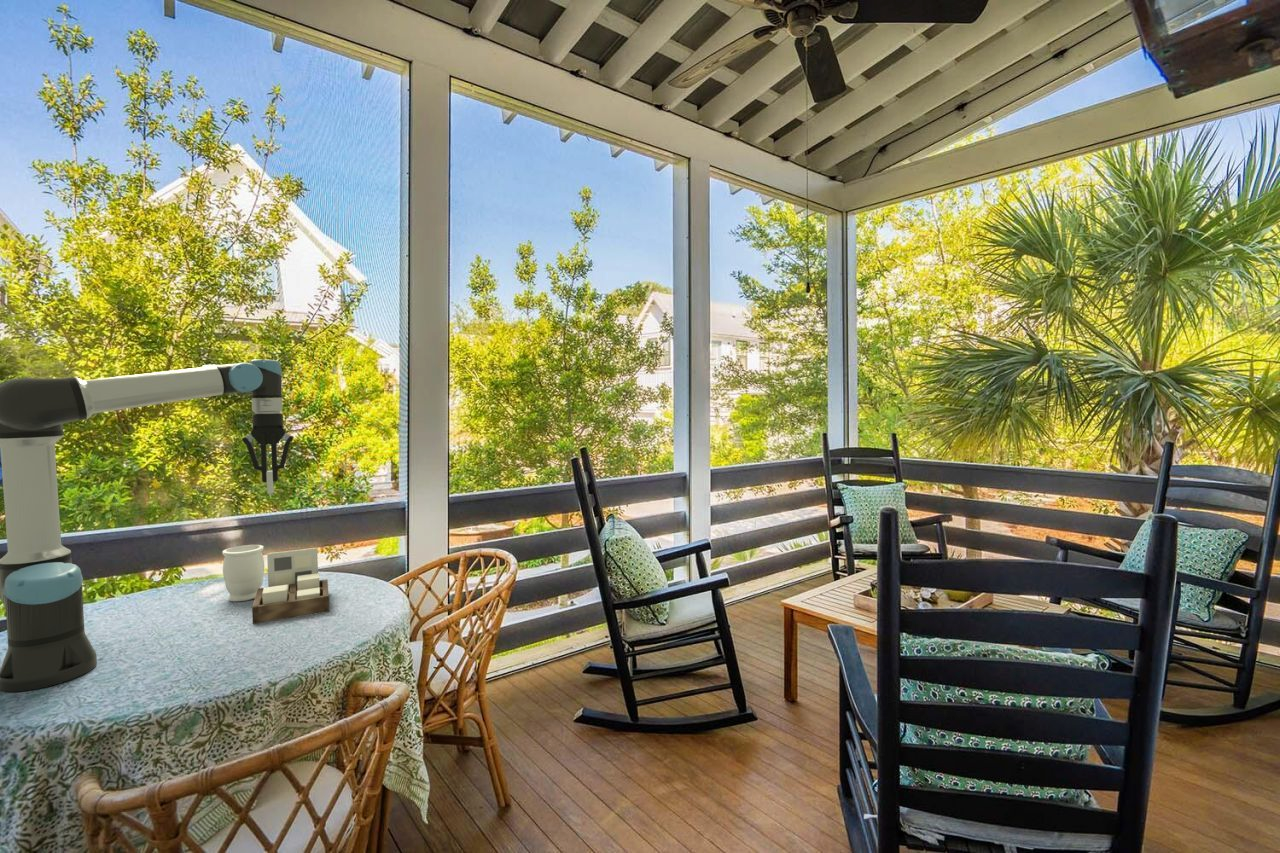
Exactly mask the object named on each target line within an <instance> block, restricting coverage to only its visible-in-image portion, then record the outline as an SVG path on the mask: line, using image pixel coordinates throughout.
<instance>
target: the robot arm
mask: <svg viewBox="0 0 1280 853" xmlns="http://www.w3.org/2000/svg"><path fill="white" fill-rule="evenodd" d="M282 378H283V375H282V367H281V362H280V361H279V360H275V359H261V358H260V359H256V358H255V359H251V360H250V362H245V361H244V362H237V363H228V364H203V365H202V366H200V367H195V368H194V367H193V368H184V369H183V368H182V369H175V370H166V371H157V372H151V373H141V374H140V373H139V374H132V375H130V374H129V375H120V376H114V377H113V376H110V377H103V378H95V379H84V380H82V379H81V378H78V377H77V376H71V377H70V376H69V377H58V378H57V377H56V378H41V377H40V378H39V377H38V378H37V377H20V378H19V377H18V378H11V379H9V380H4V381H2V382H1V383H0V462H1V474H2V475H1V477H2V485H3V487H2V488H3V503H4V504H3V505H4V515H5V516H4V518H5V530H6V531H5V532H6V545H7V552H6V553H5V555H3V557H1V558H0V601H1V603H2V605H3V606H4V609H5V617H6V632H7V651H6V653H5V656H4V659H3V661H2V663H1V667H0V691H3V692H9V693H10V692H12V693H13V692H14V693H15V692H26V691H32V690H37V689H42V688H46V687H51V686H55V685H59V684H61V683H65V682H67V681H70V680H71V681H72V680H73V679H74V680H75V679H77V678H79V677H80V676H83V675H85V674H87V673H89V672H91V671H92V670H93V669H94V668H95V667H96V666H97V665H98V661H97V660H98V658H97V657H98V656H97V653H96V651H95V648H94V647H93V646H92V644H91V641H90V640H89V638H88V636H87V633H86V632H85V619H84V618H85V615H84V614H85V613H84V600H83V599H84V598H83V596H84V595H83V582H84V577H83V574H82V569H81V568H80V567H79V566H78V565H77V564H75V563H74V564H73V563H72V562H73V561H72V551H71V549H70V548H67V547H66V546H64V545H62V535H61V534H62V533H61V522H60V521H61V520H60V519H61V518H60V506H59V505H60V503H59V502H60V501H59V489H58V488H59V487H58V475H57V474H58V473H57V472H58V471H57V461H56V460H57V456H56V446H55V445H56V443H57V442H59V441H60V440H61V439H62V438H64V426H63V425H64V424H67V423H71V422H78V421H83V420H88V419H90V418H91V417H92V416H93V415H94V414H99V413H106V412H112V411H113V412H114V411H121V410H126V409H134V408H141V407H147V406H153V405H155V406H156V405H161V404H166V403H167V404H168V403H174V402H180V401H187V400H195V399H200V398H207V397H208V398H209V397H215V396H216V397H217V396H222V395H230V394H236V393H237V394H239V393H250V394H251V411H252V412H253V414H252V416H251V417H252V418H251V419H252V421H251V422H252V429H251V431H250V434H248V435H247V436H244V437H242V438H241V439H242V440H241V441H242V442H243V443H244V445H246V448H247V450H248V454H249V456H250V460H251V462H252V465H253V469H254V470H257V471H260V472H261V481H262V483H266V494H267V495H271V494H274V492H275V490H274V487H275V486H274V483H277V482H278V476H279V474H278V473H279V472H278V471H279V470H282V469H284V468H285V465H286V460H287V458H288V453H289V449H290V444H291V443H292V442H293V440H294V438H295V437H294V436H293V435H291V434H288V433H287V432H286V430H285V429H284V418H283V417H284V415H283V413H281V412H282V411H283V410H284V409H283V394H282V393H283V389H282V388H283V386H282V381H283V380H282ZM282 438H283V440H284V442H285V443H284V445H283V450H282V453H281V458H280V462H279V464H278V449H277V448H278V443H279V442H280V441H281V440H282ZM253 440H255V441H257V443H258V444H260V462H261V463H260V464H261V465H260V464H259V461H258V457H257V454H256V451H255V448H254V446H253V443H252V442H253ZM267 445H270V447H271V448H270V449H271V470H268V458H267V457H268V455H267Z"/></svg>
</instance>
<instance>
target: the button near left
mask: <svg viewBox="0 0 1280 853" xmlns="http://www.w3.org/2000/svg"><path fill="white" fill-rule="evenodd" d="M263 588H264V589H263V593H262V599H263V604H270V603H276V602H283V601H287V600H288V592H287V585H280V586H273V587H268V586H267V587H263Z"/></svg>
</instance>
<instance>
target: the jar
mask: <svg viewBox="0 0 1280 853" xmlns="http://www.w3.org/2000/svg"><path fill="white" fill-rule="evenodd" d="M264 549H265V548H264V545H261V544H246V545H237V546H232V547H228V548H225V549H224V550H222V555H223V557H224V558H223V562H222V575H223V579H224V584H225V588H226V591H227V592H228V593H229V596H228V597H227V600H228V601H229V602H245V601H251V600H253V599H254V600H255V597H256V593H257V590H258V589H260V588H262V584H263V581H264V575H265V574H264V573H265V559H264V555H263V550H264Z"/></svg>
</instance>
